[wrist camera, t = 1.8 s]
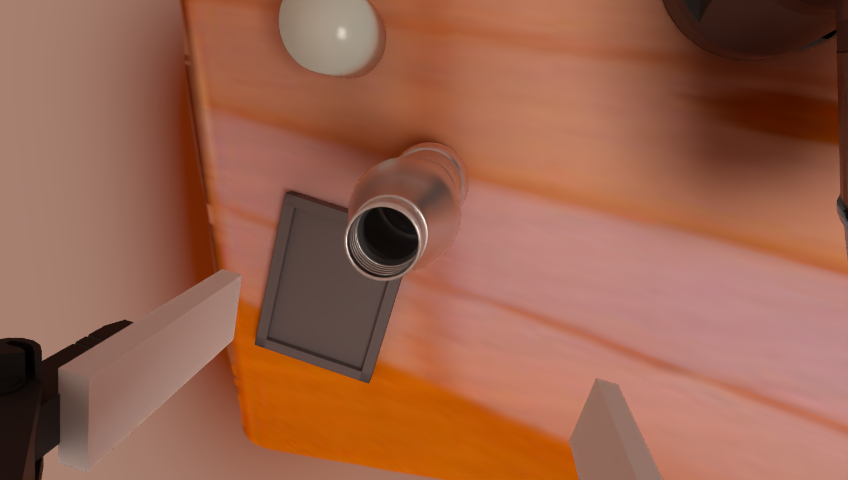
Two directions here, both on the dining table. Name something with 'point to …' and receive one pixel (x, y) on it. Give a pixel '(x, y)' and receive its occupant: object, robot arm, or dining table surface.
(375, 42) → the white rounded cylinder
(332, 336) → the tray
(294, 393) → the dining table surface
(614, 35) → the dining table surface
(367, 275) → the plastic bottle
